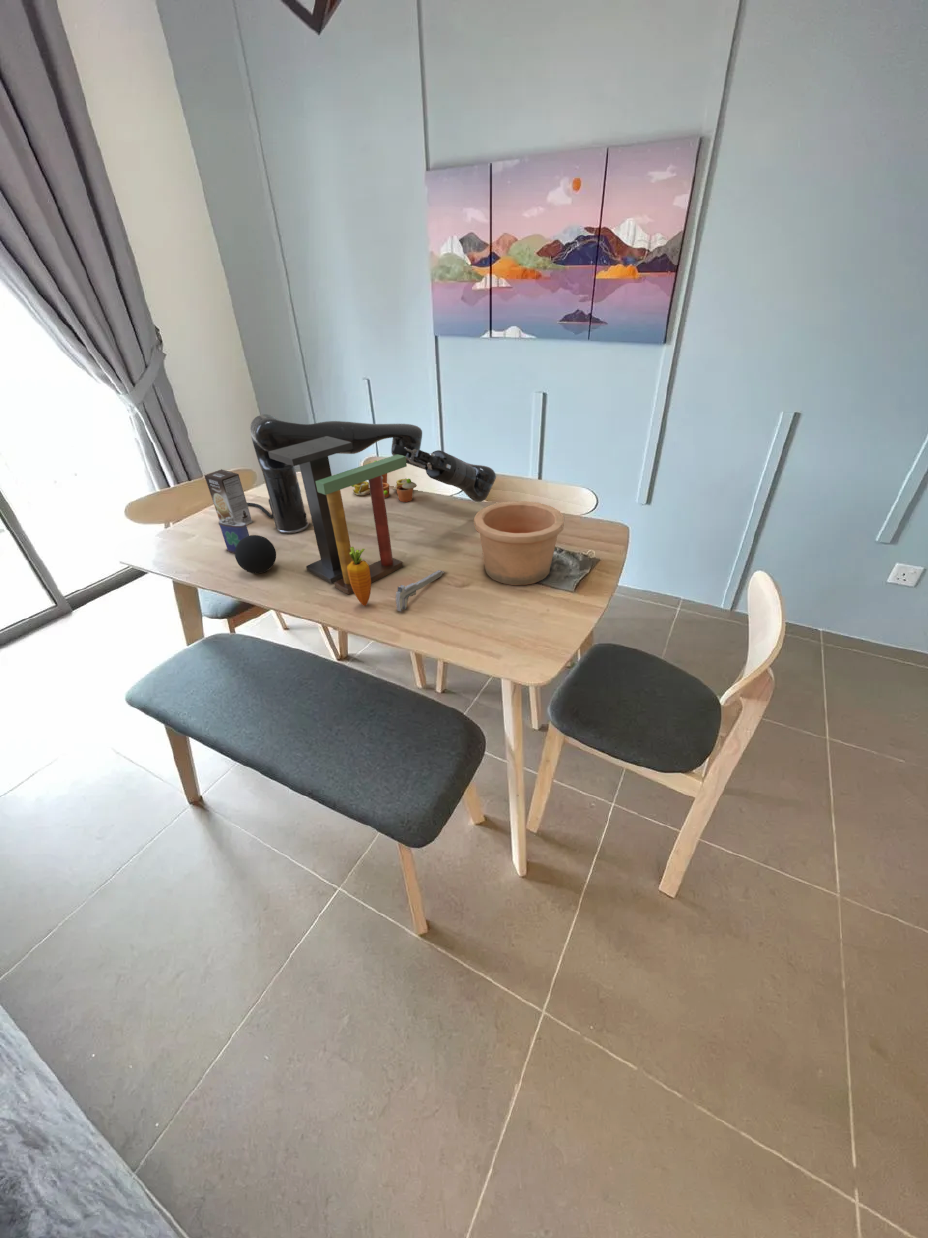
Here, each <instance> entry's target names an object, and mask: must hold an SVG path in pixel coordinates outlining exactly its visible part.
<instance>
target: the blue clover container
mask: <svg viewBox="0 0 928 1238" xmlns="http://www.w3.org/2000/svg"><path fill="white" fill-rule="evenodd" d="M233 518H234V517H232V516H231V517H227V518H226V519H228V520H226V519H224V520H221V521H218V525H219V528H220V530H221V531H220V532H221V535H222V537H223V540H224V543H225V547H226V550H227V552H228V553H232V554H235V549H236V546H237V544H238V543H239V541H240V540H242V539H243V538H245V537H247V536H250V532H249V529H248V526H247V525H246V523H239V522H233V521H234V520H233Z"/></svg>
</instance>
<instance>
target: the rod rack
mask: <svg viewBox="0 0 928 1238" xmlns="http://www.w3.org/2000/svg"><path fill="white" fill-rule="evenodd" d="M368 483H369V488H370V493H369V494H370V499H371V506H372V515H373V520H374V527H375V533H376V539H377V547H378V553H379V560H378V561H376V562H374V563H372V564H370V565H369V564H368V566H369V569H370V577H371V584H372V583H374V582H376V581H379V580H380V579H382V578H384V577H386V576H388V575H390V574H393V573H394V572H396V571H398V570H400V569H401V568H404V565H403V561H401V560H399V559H397V558H395V557H393V552H392V543H391V537H390V528H389V522H388V521H389V520H388V513H387V505H386V498H384V490H383V483H382V475H381V476H378V477H375V478H372V479H370V480H368ZM326 496H327V501H328V506H329V510H330V515H331V520H332V525H333V530H334V535H335V540H336V545H337V550H338V555H339V560H340V565H341V569H342V574H343V579H341V580H338V581H336V582H334V583H333V584H334V588H335V589H337V590H339V591H341V592H343V593H345V594H346V595H351V594H353V593H354V591H353V589H352V586H351V584H350V580H349V576H348V571H347V566H348V565H349V564H350V563H351V562H352V561H353V559H352V558H351V556H350V552H351V549H350V548H351V547H352V546H351V540H350V536H349V530H348V524H347V518H346V512H345V507H344V501H343V496H342V490H338V491H335V492H332V493H330V494H327V495H326Z"/></svg>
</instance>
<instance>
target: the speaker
mask: <svg viewBox="0 0 928 1238" xmlns="http://www.w3.org/2000/svg"><path fill="white" fill-rule="evenodd" d="M276 550H277V549H276V547H275V546H274V544H273V543H272V542H271V540H269V539H268V538H267V537H265V536H263V535H258V534H249V536H247V537H245V538H243V539H242V540H240V541H239V543H238V544H237V546H236V549H235V553H234V557H235V561H236V563H237V564H238V566H239V568H241V569H242V570H244V571H246V572H247V573H250V574H262V573H265V572H267V571H269V570H270V569H272V567H274V565H275V563H276V560H277V551H276Z"/></svg>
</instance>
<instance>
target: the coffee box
mask: <svg viewBox="0 0 928 1238" xmlns="http://www.w3.org/2000/svg"><path fill="white" fill-rule="evenodd" d="M204 479H205V482H206V486H207V488H208V491H209V494H210V497H211V500H212V503H213V506H214V510H215V511H216V515H217V518H218V520H219V521H221V520H224V519H226V518H227V517H231V516H232V517H234V518H233V520H234V521H233V522H239V523H246V526H247V525H249V524H251V523H253V519H252V515H251V512H250V508H249V505H247V503H248V501H247V498H246V495H245V491H244V488H243V484H242V481H241V478H240V474H239V473H237V472H233V471H229V470H225V469H222V468H220V469H218V470H215V471H212V472H210V473H207V474H204ZM226 520H228V519H226ZM219 521H218V522H219Z"/></svg>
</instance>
